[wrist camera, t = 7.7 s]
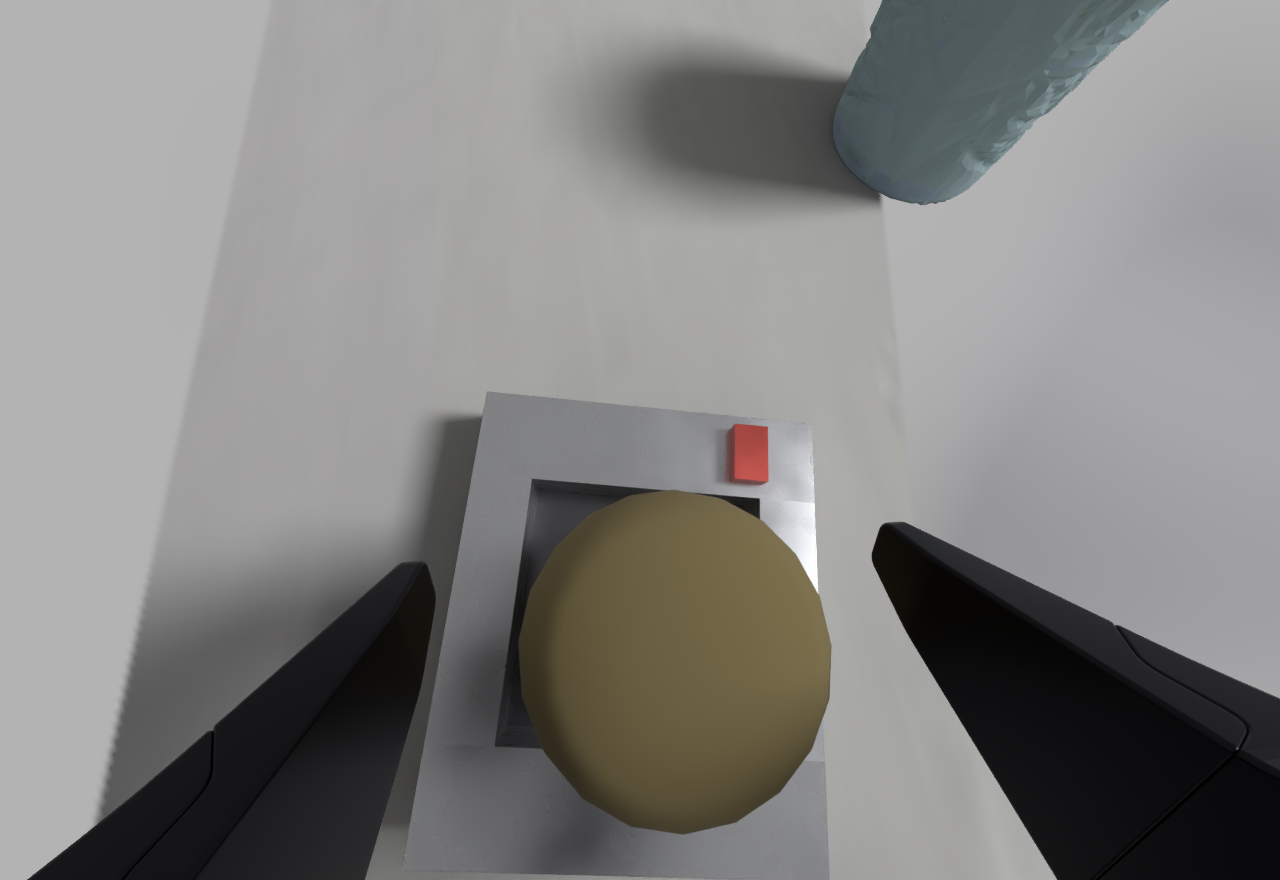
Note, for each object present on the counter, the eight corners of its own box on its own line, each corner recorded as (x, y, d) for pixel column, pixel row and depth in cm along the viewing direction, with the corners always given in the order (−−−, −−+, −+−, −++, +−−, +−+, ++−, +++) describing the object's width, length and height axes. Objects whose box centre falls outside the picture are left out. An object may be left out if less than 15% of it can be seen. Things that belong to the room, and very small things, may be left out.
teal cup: (1020, 201, 25) (1373, -110, 14) (857, 233, 24) (1106, -92, 12) (938, 65, 28) (1179, -294, 16) (785, 85, 26) (935, -301, 15)
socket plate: (794, 836, 16) (840, 895, 13) (432, 824, 15) (392, 884, 12) (785, 442, 20) (818, 418, 17) (500, 415, 19) (483, 384, 16)
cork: (512, 588, 17) (383, 601, 6) (648, 494, 18) (727, 377, 8) (607, 742, 16) (642, 1071, 5) (744, 629, 17) (986, 705, 7)
